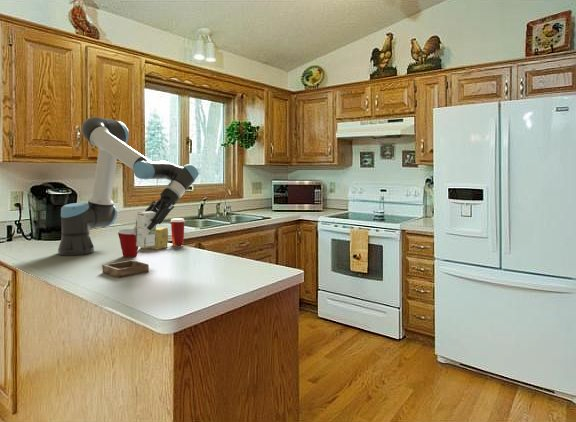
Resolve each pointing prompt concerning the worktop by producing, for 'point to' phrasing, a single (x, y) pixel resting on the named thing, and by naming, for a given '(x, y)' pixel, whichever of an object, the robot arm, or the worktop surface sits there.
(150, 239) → the syrup box
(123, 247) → the plastic cup
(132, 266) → the tray
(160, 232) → the cheese
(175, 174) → the robot arm
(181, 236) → the paper cup
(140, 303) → the worktop surface
